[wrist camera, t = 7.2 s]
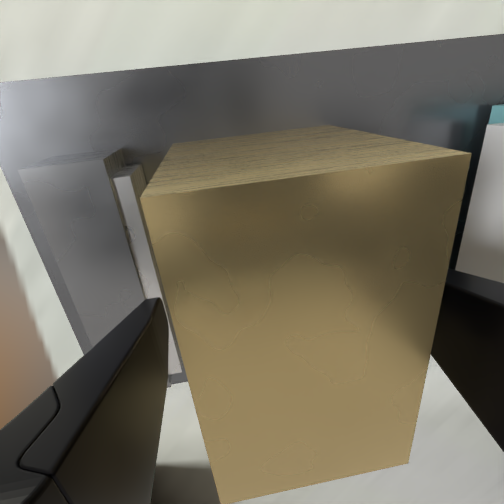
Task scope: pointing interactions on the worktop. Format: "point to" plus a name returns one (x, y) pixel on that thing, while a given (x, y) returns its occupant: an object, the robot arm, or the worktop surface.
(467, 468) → the worktop surface
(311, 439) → the brass block
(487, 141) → the slide jaw
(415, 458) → the worktop surface
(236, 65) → the vise
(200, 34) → the worktop surface
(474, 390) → the robot arm
